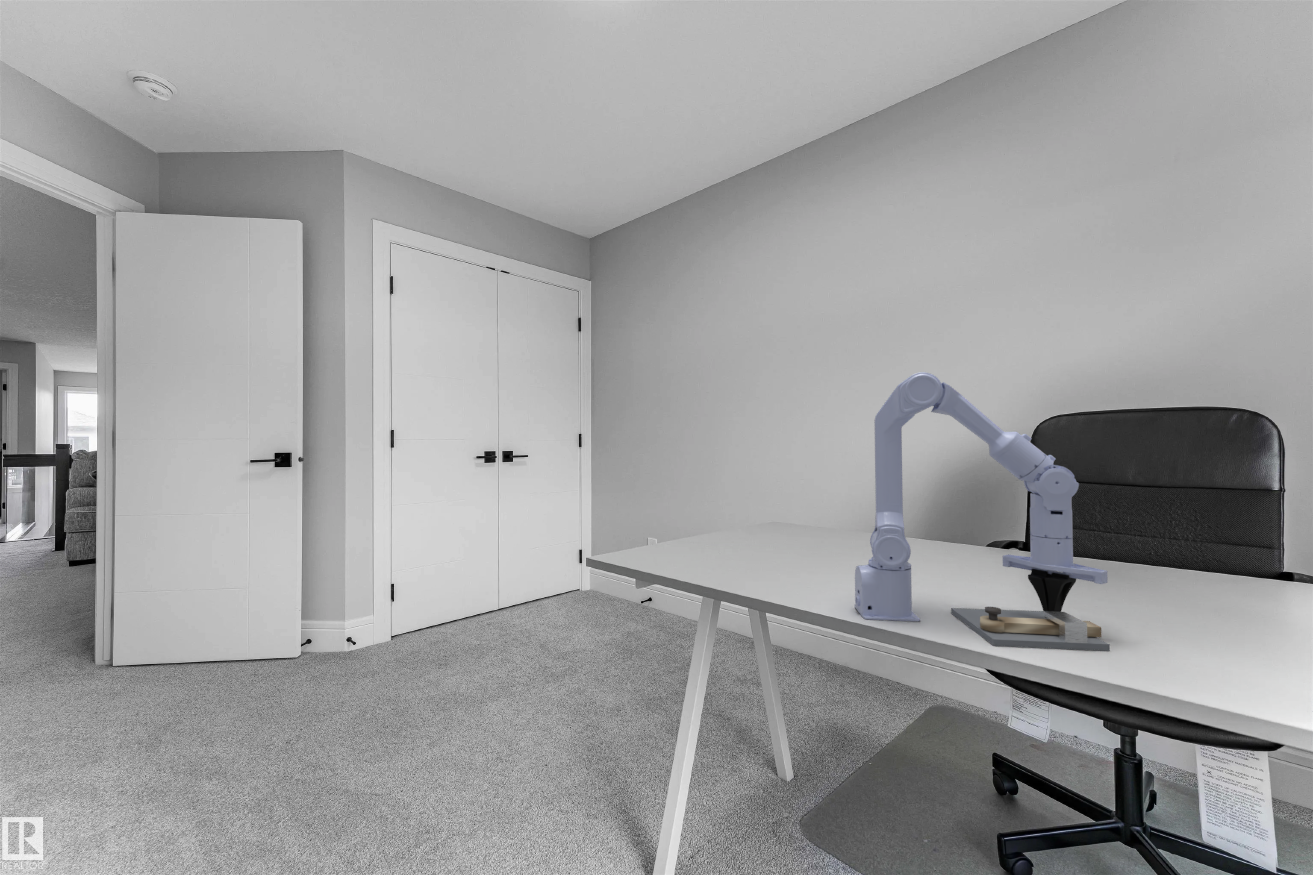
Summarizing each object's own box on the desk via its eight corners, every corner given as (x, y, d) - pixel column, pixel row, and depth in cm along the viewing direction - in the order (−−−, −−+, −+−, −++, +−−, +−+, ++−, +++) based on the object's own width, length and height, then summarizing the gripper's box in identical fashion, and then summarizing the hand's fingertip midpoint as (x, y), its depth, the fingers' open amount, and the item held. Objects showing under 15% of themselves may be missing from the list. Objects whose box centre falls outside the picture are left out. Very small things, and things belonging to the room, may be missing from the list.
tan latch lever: (985, 631, 84) (985, 611, 84) (976, 624, 87) (976, 604, 88) (1102, 637, 81) (1102, 616, 81) (1088, 629, 84) (1087, 609, 85)
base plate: (993, 645, 81) (993, 639, 81) (951, 613, 97) (951, 607, 97) (1109, 650, 79) (1109, 644, 79) (1046, 616, 95) (1046, 611, 95)
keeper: (1065, 642, 80) (1064, 622, 80) (1044, 629, 85) (1043, 611, 85) (1087, 643, 79) (1086, 623, 79) (1064, 630, 85) (1064, 611, 85)
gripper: (1115, 540, 84) (1117, 626, 84) (1016, 528, 97) (1018, 602, 97) (1095, 544, 81) (1096, 634, 81) (995, 531, 94) (996, 608, 93)
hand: (1052, 617), depth 89 cm, fingers closed
